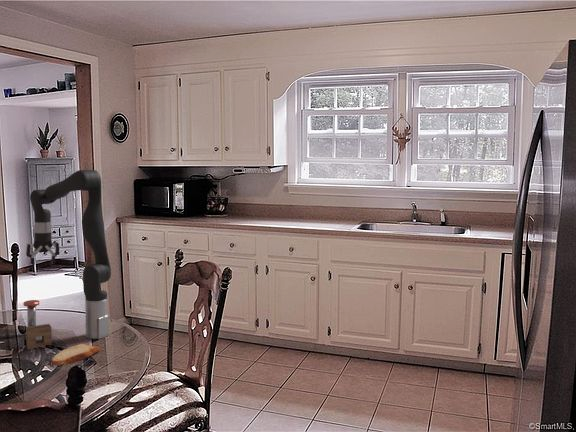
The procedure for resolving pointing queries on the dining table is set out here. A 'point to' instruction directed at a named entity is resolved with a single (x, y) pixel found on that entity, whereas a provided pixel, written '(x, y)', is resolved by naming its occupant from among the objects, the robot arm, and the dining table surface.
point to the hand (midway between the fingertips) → (43, 264)
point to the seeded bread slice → (74, 354)
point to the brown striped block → (38, 331)
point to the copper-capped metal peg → (31, 311)
